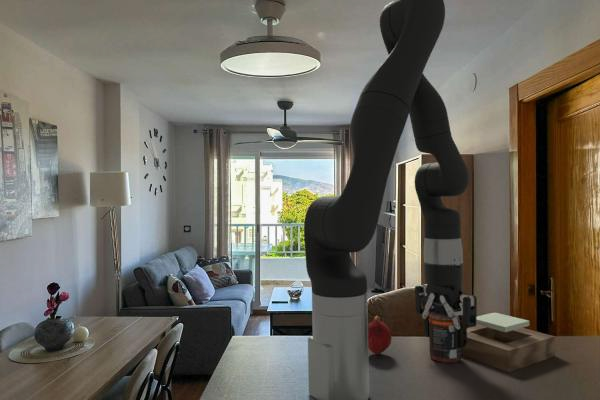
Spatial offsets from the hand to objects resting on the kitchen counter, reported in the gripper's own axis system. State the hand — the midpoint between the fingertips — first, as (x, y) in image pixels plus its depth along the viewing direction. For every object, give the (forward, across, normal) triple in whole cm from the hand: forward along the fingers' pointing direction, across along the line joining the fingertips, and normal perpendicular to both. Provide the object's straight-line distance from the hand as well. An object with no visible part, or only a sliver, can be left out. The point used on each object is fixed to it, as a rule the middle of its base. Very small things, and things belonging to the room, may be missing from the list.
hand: (444, 341), depth 85 cm
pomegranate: (+4, -9, -10) cm, 14 cm away
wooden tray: (+3, +4, +12) cm, 13 cm away
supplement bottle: (+4, 0, 0) cm, 4 cm away
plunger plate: (-3, +4, +12) cm, 13 cm away
